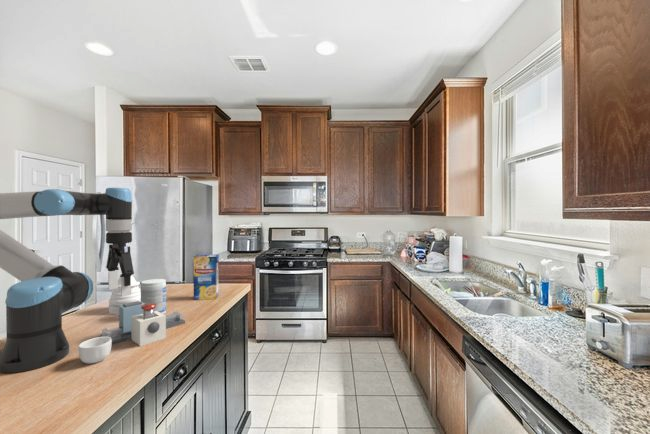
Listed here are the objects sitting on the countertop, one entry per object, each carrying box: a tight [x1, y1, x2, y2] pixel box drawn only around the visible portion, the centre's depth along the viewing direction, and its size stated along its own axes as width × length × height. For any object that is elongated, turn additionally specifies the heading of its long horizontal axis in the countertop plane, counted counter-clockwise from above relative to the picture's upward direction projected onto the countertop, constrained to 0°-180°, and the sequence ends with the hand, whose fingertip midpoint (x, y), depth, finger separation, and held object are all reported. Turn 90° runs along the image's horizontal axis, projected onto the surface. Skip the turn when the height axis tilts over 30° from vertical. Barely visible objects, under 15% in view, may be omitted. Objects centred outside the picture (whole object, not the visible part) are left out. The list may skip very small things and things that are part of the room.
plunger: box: [141, 303, 156, 320], centre depth 101 cm, size 4×4×8 cm
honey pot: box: [108, 274, 141, 315], centre depth 132 cm, size 13×13×18 cm
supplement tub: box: [140, 278, 167, 315], centre depth 125 cm, size 10×10×15 cm
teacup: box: [78, 336, 113, 365], centre depth 88 cm, size 10×8×5 cm
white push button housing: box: [130, 311, 167, 347], centre depth 101 cm, size 8×8×8 cm
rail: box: [100, 311, 186, 345], centre depth 109 cm, size 25×10×3 cm, turn 141°
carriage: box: [118, 301, 145, 333], centre depth 106 cm, size 7×5×9 cm, turn 141°
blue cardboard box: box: [193, 254, 220, 301], centre depth 151 cm, size 7×11×22 cm, turn 100°
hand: (119, 291), depth 103 cm, fingers open, 13 cm apart
